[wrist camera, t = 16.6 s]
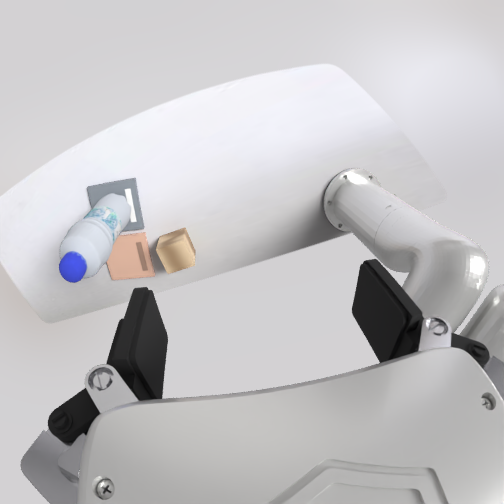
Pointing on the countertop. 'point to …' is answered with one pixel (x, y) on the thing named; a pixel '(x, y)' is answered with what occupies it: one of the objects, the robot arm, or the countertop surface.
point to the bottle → (93, 238)
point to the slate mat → (124, 189)
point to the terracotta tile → (130, 257)
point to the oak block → (176, 251)
